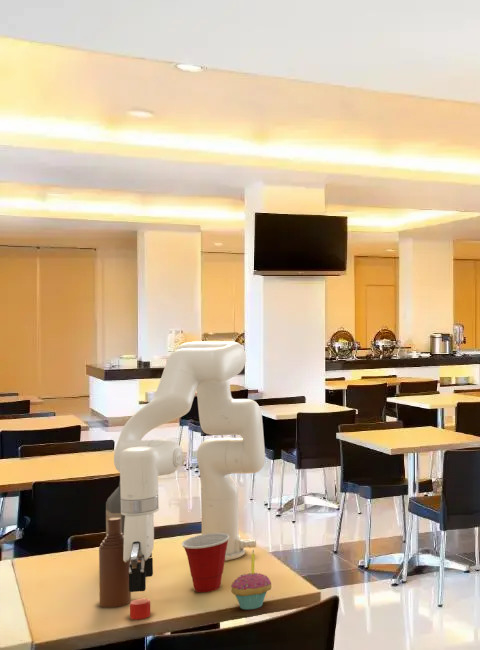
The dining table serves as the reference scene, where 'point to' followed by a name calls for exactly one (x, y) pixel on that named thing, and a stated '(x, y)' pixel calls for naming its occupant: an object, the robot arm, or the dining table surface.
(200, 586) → the plastic cup
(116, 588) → the sauce bottle
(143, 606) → the cap
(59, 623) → the dining table surface
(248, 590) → the cupcake
